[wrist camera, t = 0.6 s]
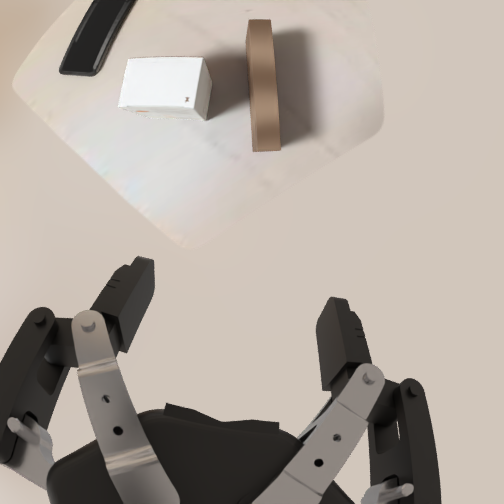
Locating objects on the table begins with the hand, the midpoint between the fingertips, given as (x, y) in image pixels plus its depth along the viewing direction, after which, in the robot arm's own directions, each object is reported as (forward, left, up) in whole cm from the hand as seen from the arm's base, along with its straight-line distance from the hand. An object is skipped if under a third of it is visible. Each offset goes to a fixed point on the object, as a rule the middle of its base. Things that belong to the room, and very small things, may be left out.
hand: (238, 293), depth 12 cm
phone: (-29, -19, -26) cm, 43 cm away
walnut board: (-14, +4, -25) cm, 29 cm away
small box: (-14, -6, -25) cm, 30 cm away
